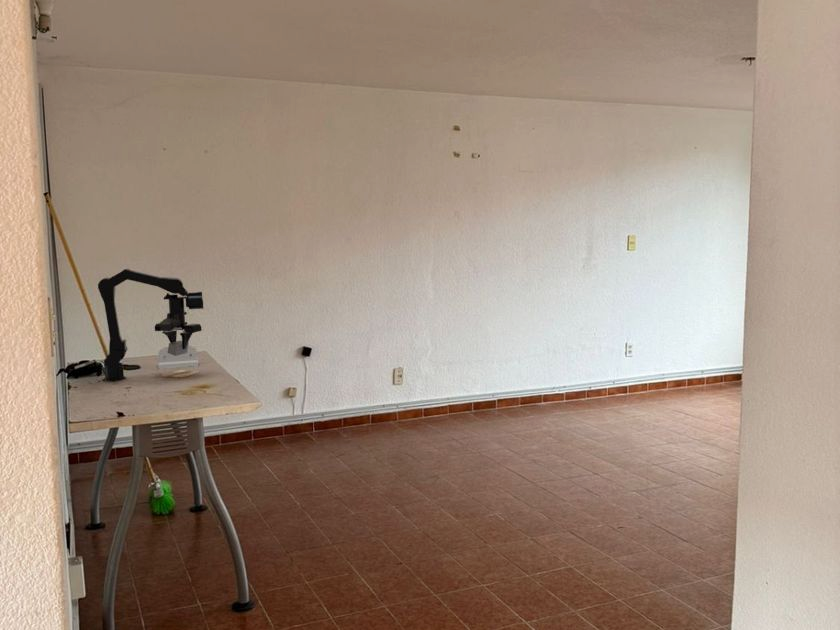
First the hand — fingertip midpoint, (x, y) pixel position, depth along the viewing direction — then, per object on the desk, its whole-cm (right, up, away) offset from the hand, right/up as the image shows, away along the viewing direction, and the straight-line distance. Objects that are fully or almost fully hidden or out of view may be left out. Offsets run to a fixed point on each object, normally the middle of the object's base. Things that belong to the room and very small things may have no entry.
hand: (179, 349), depth 317 cm
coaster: (0, -10, +1) cm, 10 cm away
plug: (+2, 0, 0) cm, 2 cm away
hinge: (-6, -8, +19) cm, 22 cm away
